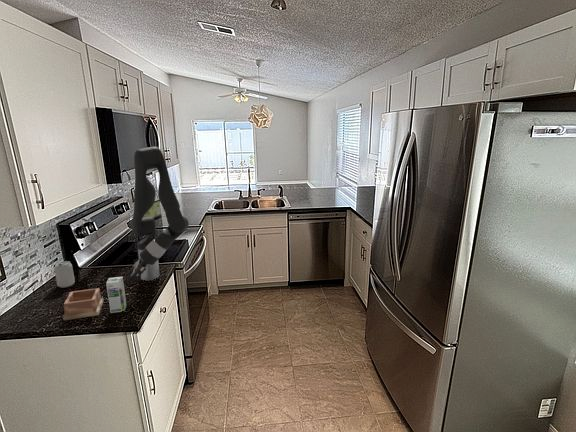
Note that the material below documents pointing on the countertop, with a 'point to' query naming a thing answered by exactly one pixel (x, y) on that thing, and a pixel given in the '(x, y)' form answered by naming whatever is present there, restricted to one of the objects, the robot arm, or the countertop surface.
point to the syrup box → (116, 294)
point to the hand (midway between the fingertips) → (128, 279)
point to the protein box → (154, 210)
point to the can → (64, 274)
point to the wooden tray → (83, 304)
